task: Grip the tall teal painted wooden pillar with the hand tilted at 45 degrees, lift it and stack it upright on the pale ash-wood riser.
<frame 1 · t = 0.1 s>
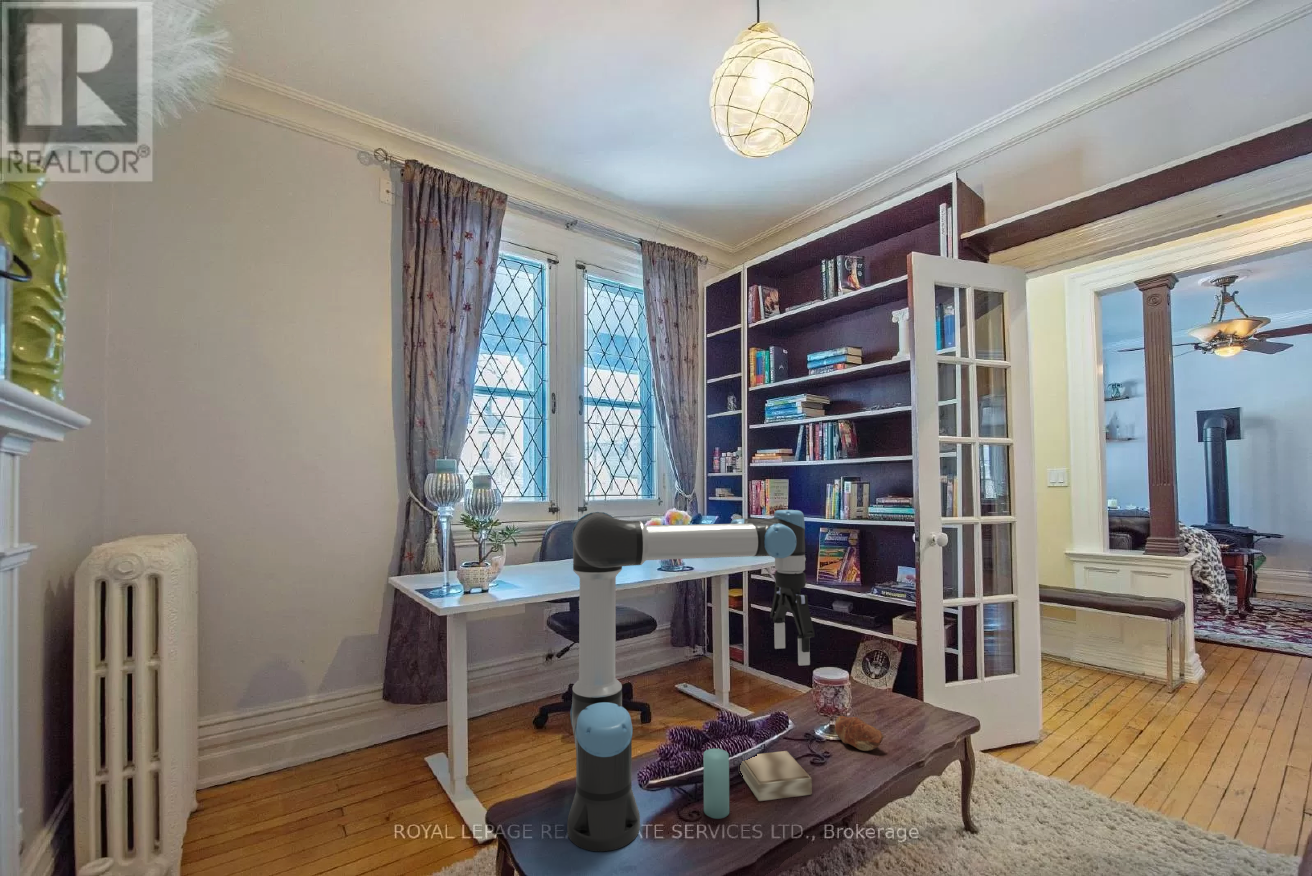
hand: (791, 656, 144), 28 cm above the table, fingers open, 13 cm apart
bread roll: (857, 745, 155), on the table
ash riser: (774, 782, 136), on the table
teal pillar: (716, 810, 125), on the table
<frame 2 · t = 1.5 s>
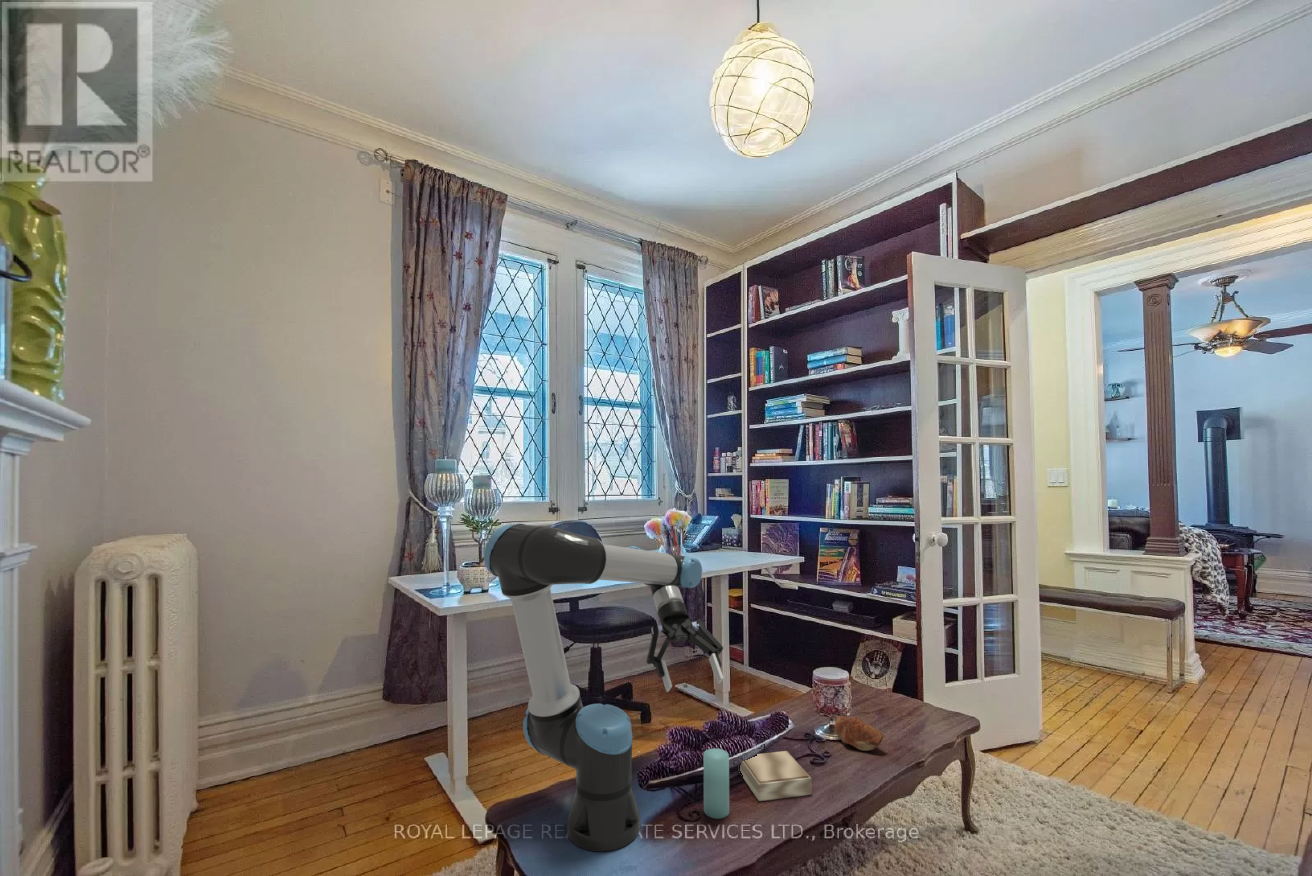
hand: (695, 685, 136), 23 cm above the table, fingers open, 13 cm apart
nothing on the table moved.
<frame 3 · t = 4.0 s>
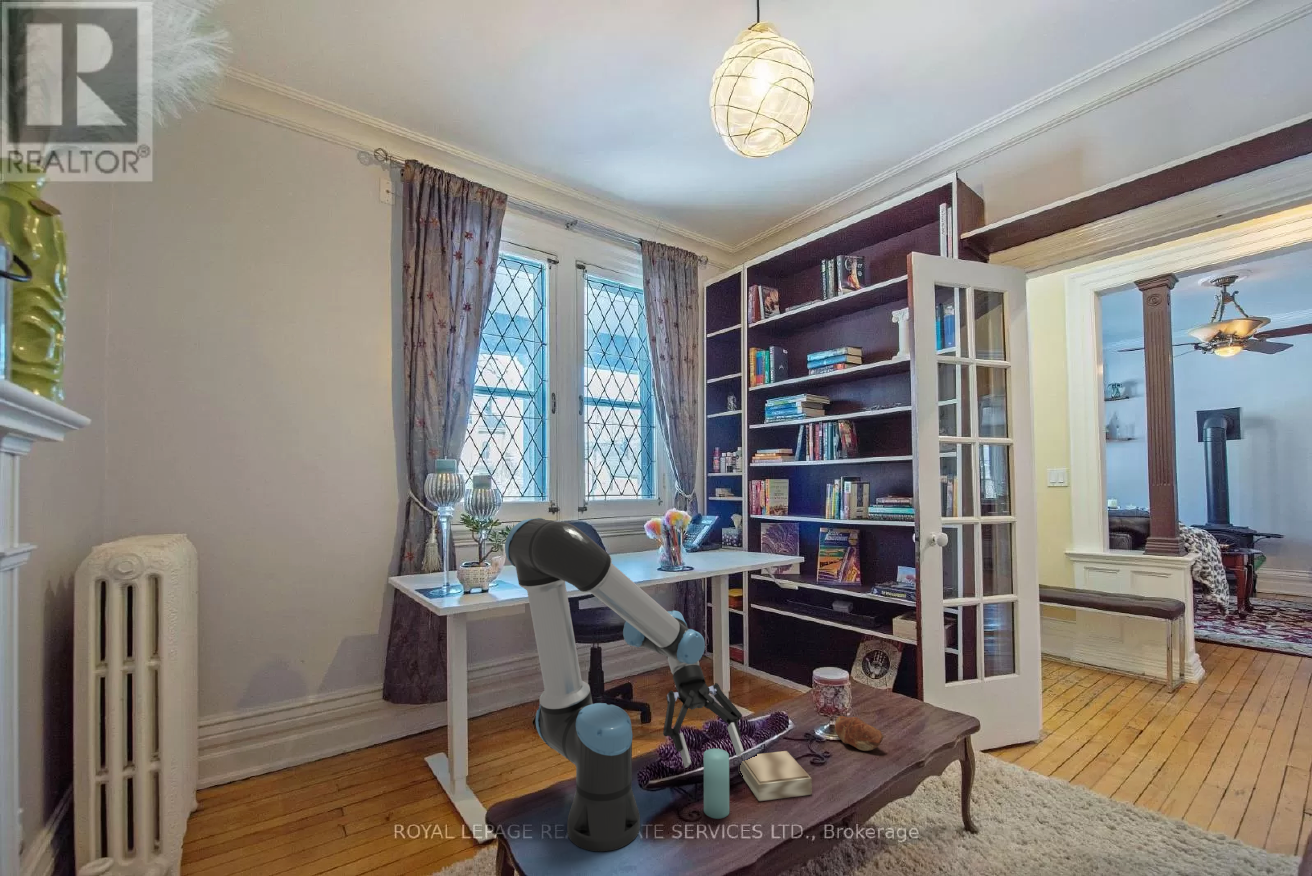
hand: (714, 759, 130), 9 cm above the table, fingers open, 13 cm apart
nothing on the table moved.
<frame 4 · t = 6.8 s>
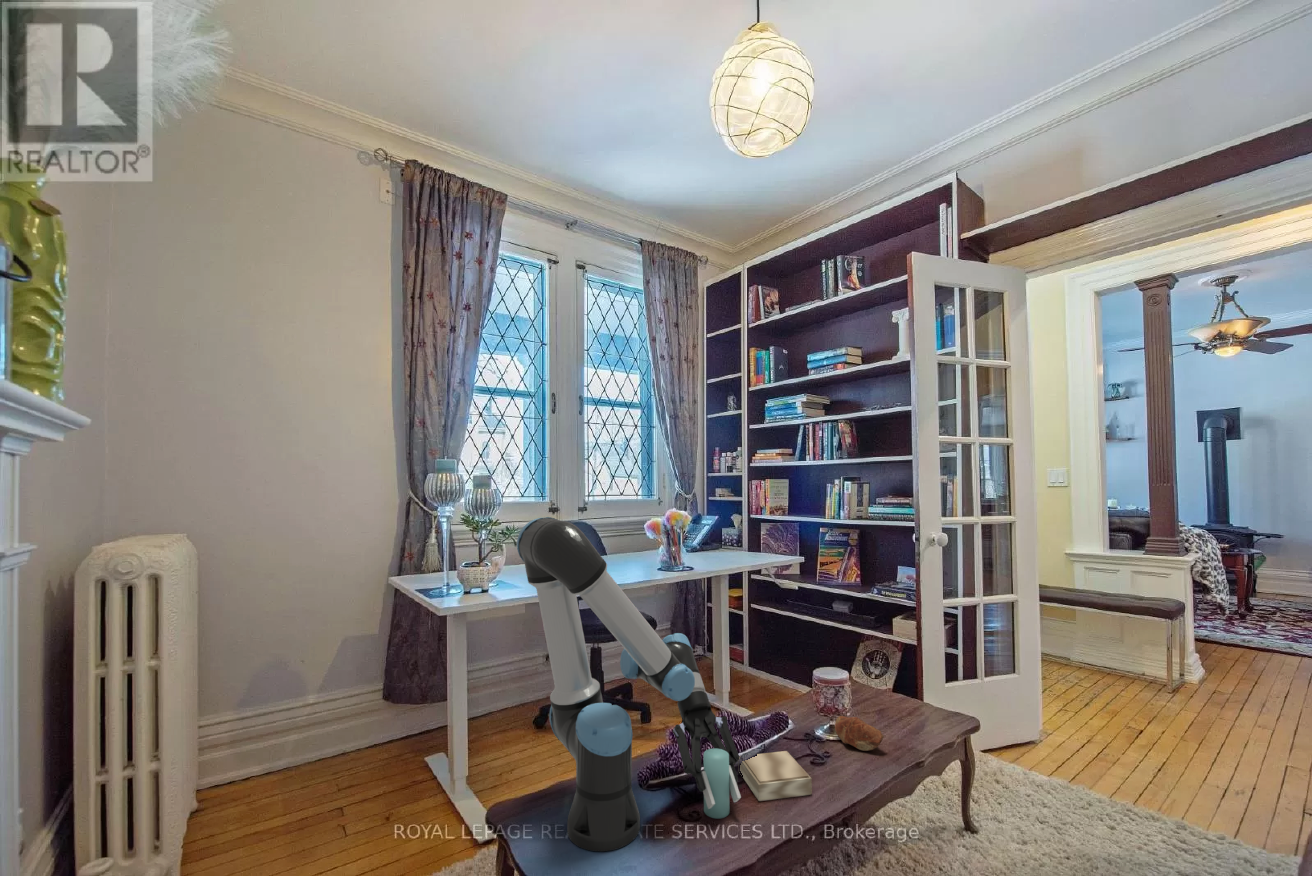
hand: (724, 803, 122), 4 cm above the table, fingers closed on teal pillar, 5 cm apart
teal pillar: (716, 810, 125), on the table, touching gripper
everything else where it was.
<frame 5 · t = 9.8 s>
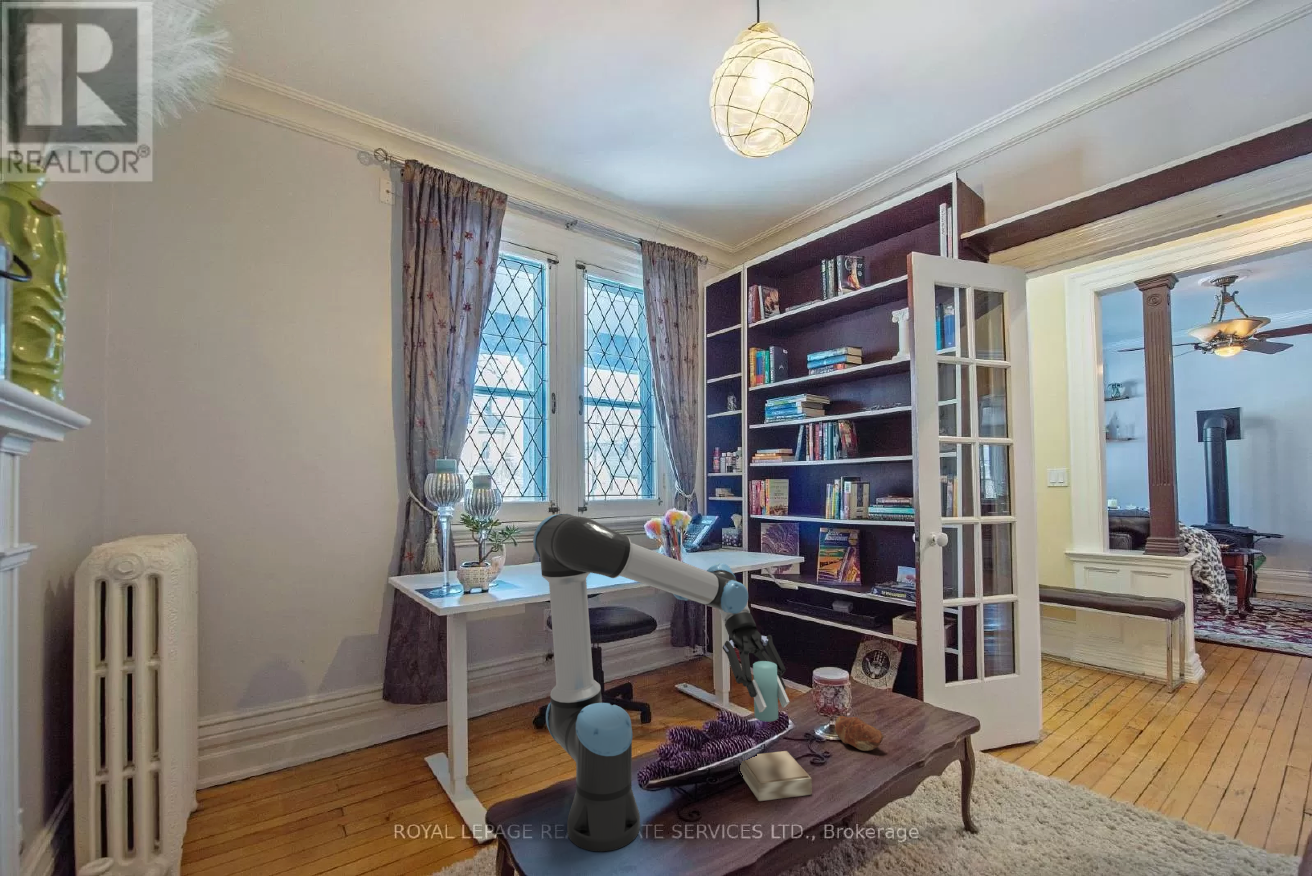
hand: (774, 707, 132), 20 cm above the table, fingers closed on teal pillar, 5 cm apart
teal pillar: (766, 716, 136), point 16 cm above the table, touching gripper
everything else where it was.
when the fingers open (9 cm above the table, at t = 13.0 s): teal pillar drops 1 cm, resting on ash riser.
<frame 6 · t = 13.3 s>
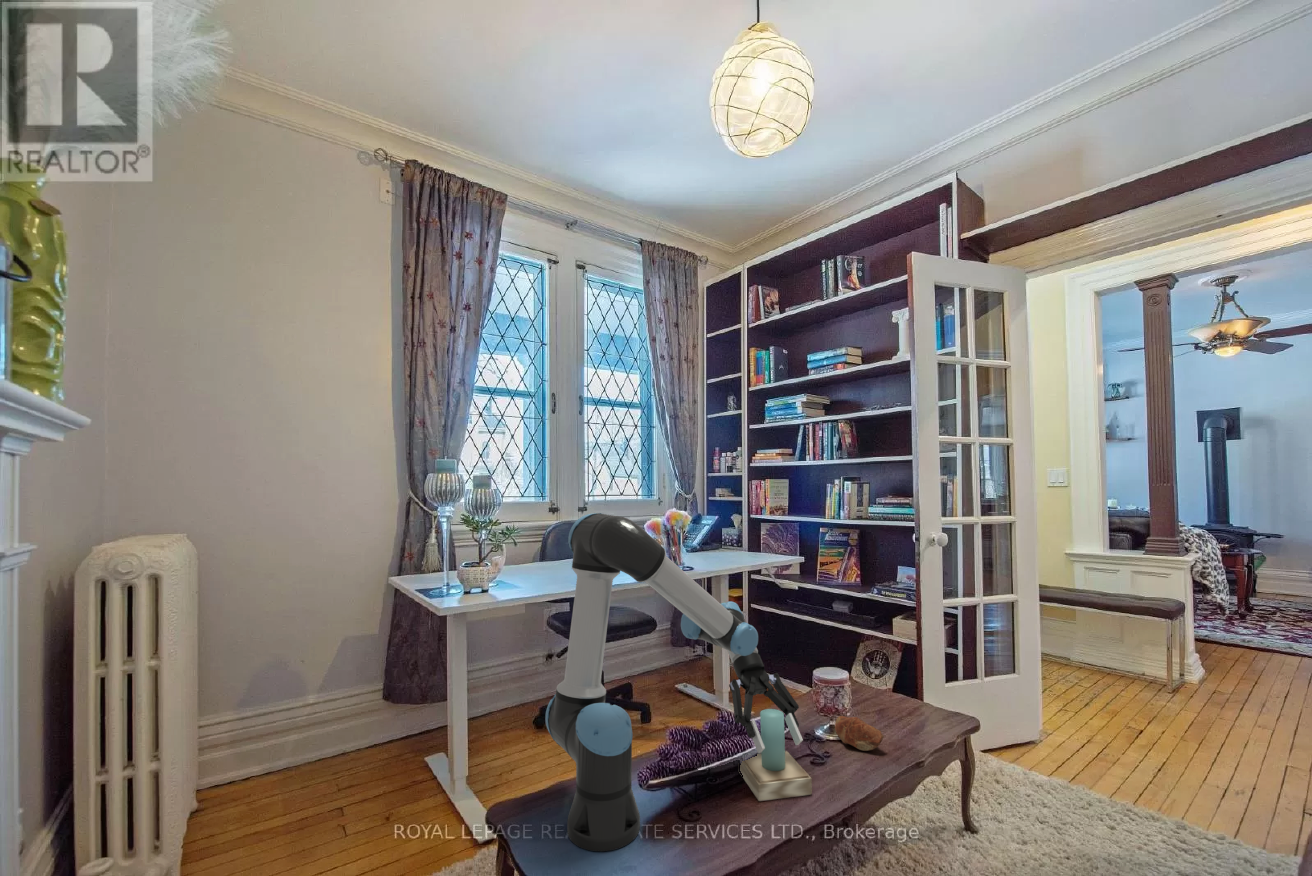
hand: (780, 746, 134), 10 cm above the table, fingers open, 10 cm apart
teal pillar: (773, 765, 137), point 4 cm above the table, touching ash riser
everything else where it was.
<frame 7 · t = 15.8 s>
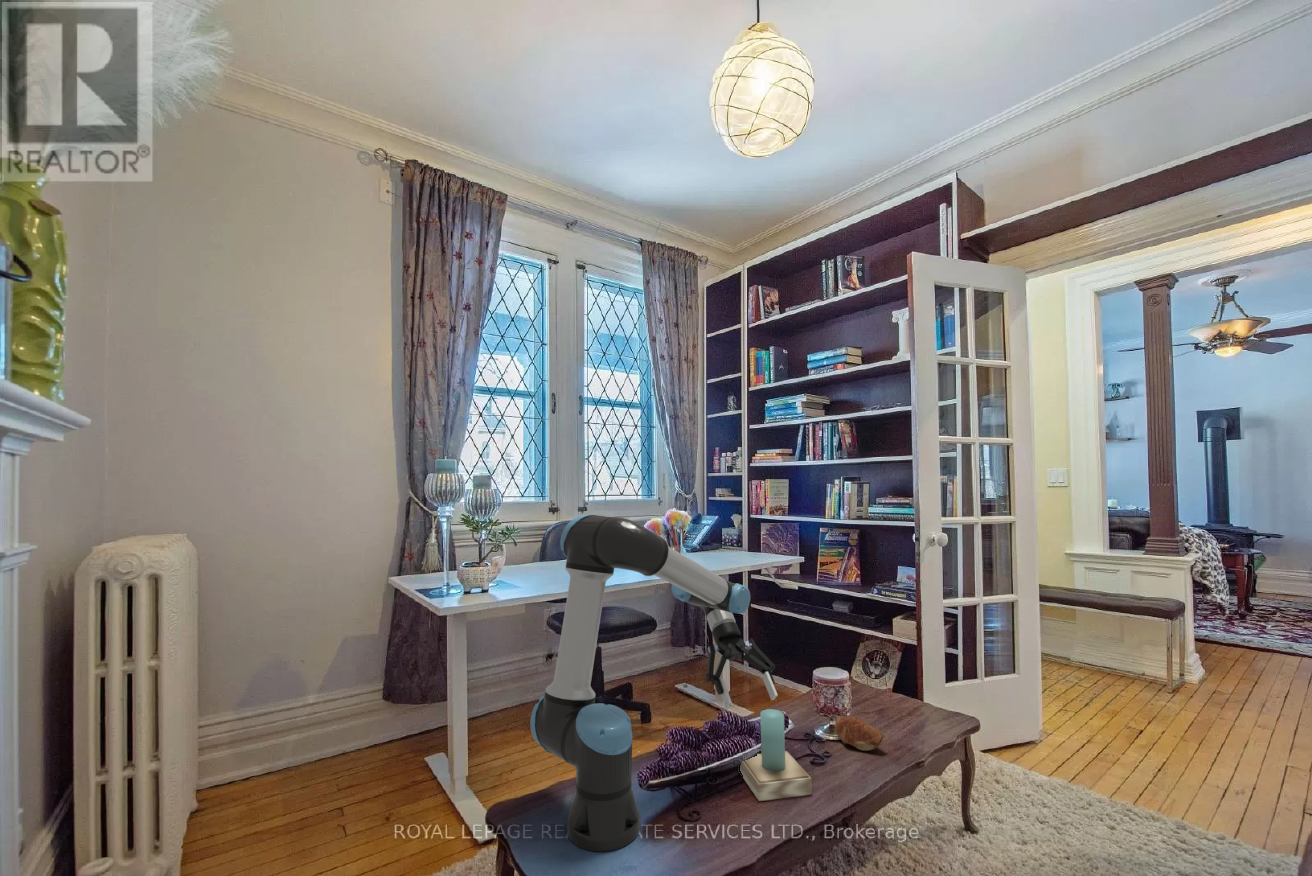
hand: (752, 701, 146), 15 cm above the table, fingers open, 13 cm apart
nothing on the table moved.
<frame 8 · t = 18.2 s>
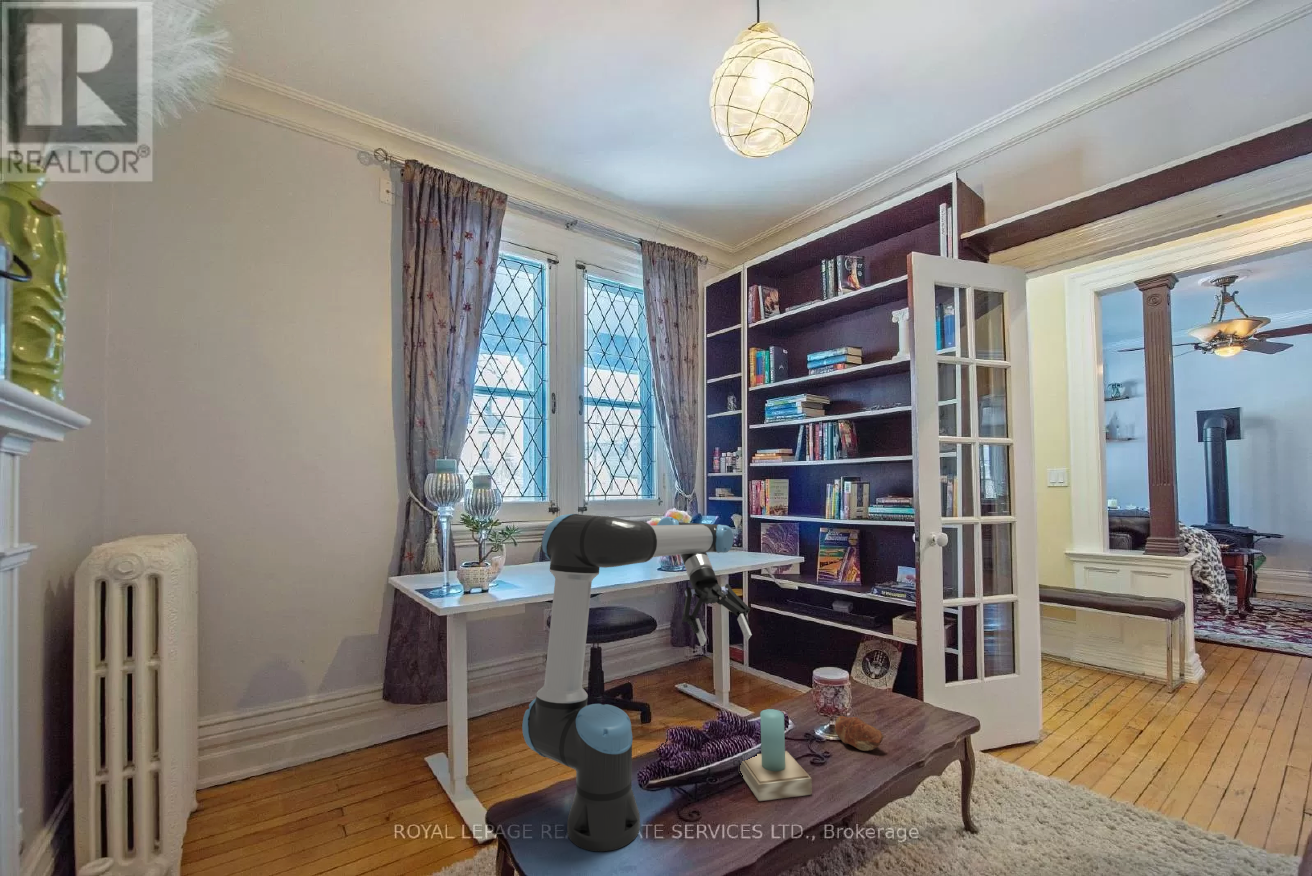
hand: (726, 640, 151), 30 cm above the table, fingers open, 13 cm apart
nothing on the table moved.
at the end: teal pillar inside the target area on the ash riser (0.1 cm from its centre), point 4.1 cm above the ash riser's base; teal pillar tilted 1°; the gripper is holding nothing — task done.
